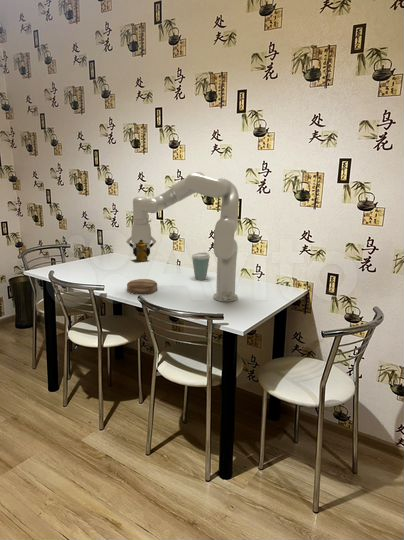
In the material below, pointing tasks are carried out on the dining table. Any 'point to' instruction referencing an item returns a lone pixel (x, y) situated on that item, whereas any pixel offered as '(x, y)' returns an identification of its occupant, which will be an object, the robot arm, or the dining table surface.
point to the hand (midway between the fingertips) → (141, 255)
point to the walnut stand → (142, 286)
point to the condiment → (141, 253)
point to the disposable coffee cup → (200, 265)
